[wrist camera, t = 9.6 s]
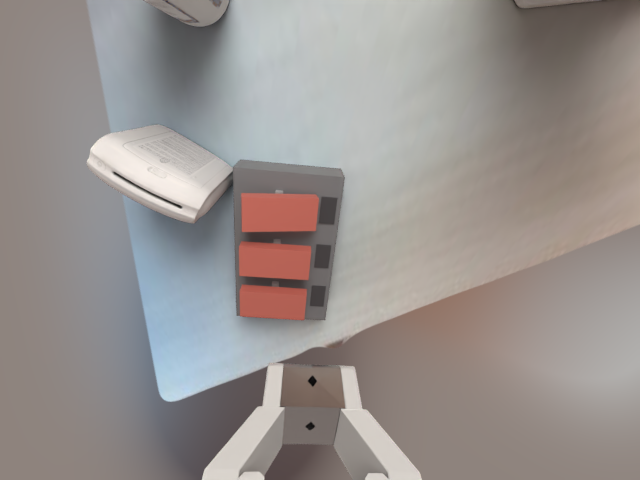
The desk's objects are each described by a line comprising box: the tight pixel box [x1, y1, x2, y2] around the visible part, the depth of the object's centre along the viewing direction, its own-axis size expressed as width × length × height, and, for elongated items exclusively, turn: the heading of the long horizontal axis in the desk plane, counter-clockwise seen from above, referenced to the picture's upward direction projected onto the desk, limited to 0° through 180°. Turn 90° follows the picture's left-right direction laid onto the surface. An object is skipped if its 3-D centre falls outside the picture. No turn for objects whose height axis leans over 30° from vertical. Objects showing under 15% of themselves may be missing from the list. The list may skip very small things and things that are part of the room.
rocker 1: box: [241, 193, 319, 232], centre depth 33 cm, size 8×4×1 cm, turn 85°
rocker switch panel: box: [233, 160, 345, 320], centre depth 38 cm, size 12×20×5 cm, turn 174°
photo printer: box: [87, 124, 233, 223], centre depth 30 cm, size 10×4×12 cm, turn 57°
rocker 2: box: [239, 241, 311, 280], centre depth 35 cm, size 8×4×1 cm, turn 84°
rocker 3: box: [240, 285, 307, 320], centre depth 38 cm, size 8×4×1 cm, turn 84°
